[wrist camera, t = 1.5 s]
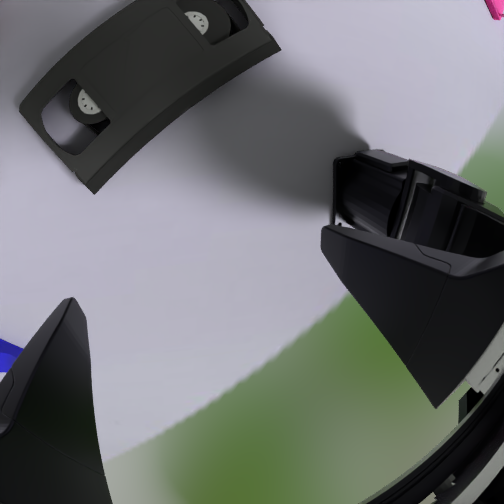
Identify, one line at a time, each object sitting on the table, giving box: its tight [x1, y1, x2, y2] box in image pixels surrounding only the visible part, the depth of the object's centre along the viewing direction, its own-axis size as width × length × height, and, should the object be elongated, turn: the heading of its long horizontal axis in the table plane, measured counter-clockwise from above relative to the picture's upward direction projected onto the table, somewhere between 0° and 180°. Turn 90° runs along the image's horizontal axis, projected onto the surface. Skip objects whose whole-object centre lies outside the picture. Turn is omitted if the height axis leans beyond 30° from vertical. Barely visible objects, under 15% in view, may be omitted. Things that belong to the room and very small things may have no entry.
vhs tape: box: [19, 0, 281, 195], centre depth 12 cm, size 14×8×2 cm, turn 124°
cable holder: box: [0, 339, 23, 372], centre depth 16 cm, size 8×4×4 cm, turn 54°
